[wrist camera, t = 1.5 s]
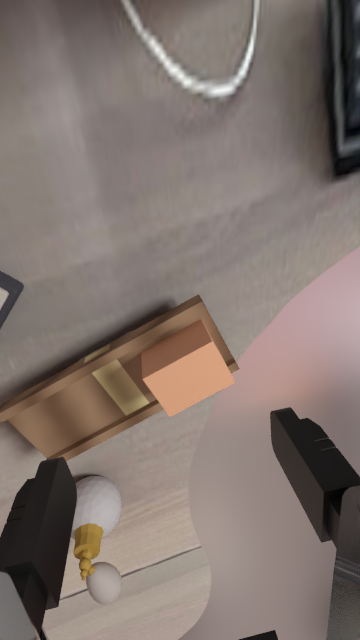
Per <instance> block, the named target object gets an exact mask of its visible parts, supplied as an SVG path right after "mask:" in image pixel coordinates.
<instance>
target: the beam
mask: <svg viewBox="0 0 360 640" xmlns="http://www.w3.org/2000/svg"><path fill="white" fill-rule="evenodd" d="M200 319H201V320H202V322H203V324H204V325H205V327H206V329H207V331H208V333H209V334H210V336H211V338H212V340H213V341H214V343H215V345H216V347H217V349H218V350H219V352H220V354H221V356H222V358H223V359H224V361H225V363H226V365H227V367H228V369H229V371H230V373H233V372H234V371H237V370H238V369H239V367H238V365H237V363H236V362H235V360H234V358H233V356H232V354H231V353H230V351H229V349H228V347H227V345H226V343H225V342H224V340H223V338H222V336H221V334H220V332H219V331H218V329H217V327H216V325H215V323H214V321H213V319H212V318H211V316H210V314H209V312H208V310H207V308H206V306H205V304H204V303H203V301H202V299H201V297H200V296H199V294H198V295H197V296H195V297H193V298H191V299H189V300H188V301H186V302H184V303H182V304H180V305H179V306H177V307H175V308H173V309H171V310H170V311H168V312H166V313H164V314H163V315H161V316H159V317H157V318H155V319H154V320H152V321H150V322H148V323H146V324H145V325H143V326H141V327H139V328H137V329H136V330H134V331H132V330H131V331H129V332H127V333H126V334H124V335H122V336H120V337H118V338H117V339H115V340H113V341H111V342H109V343H108V344H106V345H104V346H102V347H100V348H99V349H97V350H95V351H93V352H91V353H90V354H88V355H86V356H84V357H82V358H81V359H79V361H78V362H76V363H75V364H73V365H71V366H69V367H67V368H66V369H64V370H62V371H60V372H58V373H57V374H55V375H53V376H51V377H49V378H48V379H46V380H44V381H42V382H41V383H39V384H37V385H35V386H33V387H32V388H30V389H28V390H26V391H24V392H23V393H21V394H19V395H17V396H15V397H14V398H12V399H10V400H8V401H6V402H5V403H3V404H2V405H1V407H0V422H1V423H2V422H4V421H6V420H8V421H9V422H10V423H11V424H12V425H13V426H14V427H15V428H16V429H17V430H18V431H19V432H20V433H21V434H22V435H23V436H24V437H25V438H26V439H27V440H28V441H30V442H31V443H32V444H33V445H34V446H35V447H36V448H37V449H38V450H39V451H40V452H41V453H42V454H43V455H44V456H45V457H46V458H47V460H49V459H54V458H58V457H64V458H65V460H66V461H67V460H69V459H71V458H73V457H75V456H77V455H79V454H80V453H82V452H84V451H86V450H88V449H90V448H92V447H94V446H96V445H97V444H99V443H101V442H103V441H105V440H107V439H109V438H111V437H112V436H114V435H116V434H118V433H120V432H122V431H124V430H126V429H128V428H129V427H131V426H133V425H135V424H137V423H139V422H141V421H143V420H144V419H146V418H148V417H150V416H152V415H154V414H156V413H158V412H159V411H161V410H163V409H164V408H163V407H162V406H161V404H160V403H159V401H158V400H157V399H156V397H155V396H154V395H153V393H152V392H151V390H150V389H149V388H148V386H147V385H146V384H145V382H144V381H143V379H142V361H141V352H142V351H144V350H146V349H148V348H150V347H151V346H153V345H155V344H157V343H159V342H160V341H162V340H164V339H166V338H168V337H170V336H171V335H173V334H175V333H177V332H179V331H180V330H182V329H184V328H186V327H188V326H190V325H191V324H193V323H195V322H197V321H199V320H200Z"/></svg>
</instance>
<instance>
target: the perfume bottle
mask: <svg viewBox="0 0 360 640" xmlns="http://www.w3.org/2000/svg"><path fill="white" fill-rule="evenodd" d="M75 485H76V489H77V504H76V509H75V515H74V521H73V526H72V532H71V537H72V538H74V539H75V547H74V555H75V557H76V558H78V559H80V563H79V568H80V570H81V573H80V574H81V577H82V580H85V577H86V584H87V587H88V591H89V593H90V595H91V596H92V597H93V599H94V600H95V601H97V602H98V603H100V604H109V603H111V602H113V601H114V600H115V599H116V598H117V597H118V595H119V593H120V591H121V587H122V578H121V575H120V572H119V571H118V570H117V568H116V567H114V566H113V565H111V564H109V563H106V562H98V563H95V564H93V565H92V566H91V561H90V560H91V559H94V558H95V557H97V556H98V554H99V552H100V543H101V539H102V538H104V537H106V536H107V535H108V534H109V533H110V532H111V531H112V530H113V529H114V528H115V526H116V524H117V522H118V520H119V518H120V513H121V508H122V506H121V496H120V493H119V491H118V489H117V487H116V486H115V484H114V483H113V482H112V481H110V480H109V479H108V478H105V477H102V476H89V477H86V478H83V479H81V480H80V481H78V482H77V483H75ZM87 571H88V572H87Z"/></svg>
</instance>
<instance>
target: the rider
mask: <svg viewBox="0 0 360 640" xmlns="http://www.w3.org/2000/svg"><path fill="white" fill-rule="evenodd" d="M141 361H142V379H143V381H144V382H145V384H146V385H147V386H148V388H149V389H150V390H151V392H152V393H153V395H154V396H155V397H156V399H157V400H158V401H159V403H160V404H161V406H162V407H163V408H164V410H165V411H166V412H167V414H168V415H169V417H171V416H173V415H174V414H176V413H178V412H180V411H182V410H184V409H186V408H188V407H190V406H191V405H193V404H195V403H197V402H199V401H201V400H203V399H205V398H207V397H208V396H210V395H212V394H214V393H216V392H218V391H220V390H222V389H224V388H225V387H227V386H229V385H231V384H233V383H235V380H234V379H233V377H232V375H231V373H230V371H229V369H228V367H227V365H226V363H225V361H224V359H223V358H222V356H221V354H220V352H219V350H218V349H217V347H216V345H215V343H214V341H213V340H212V338H211V336H210V334H209V333H208V331H207V329H206V327H205V325H204V324H203V322H202V320H201V319H200V320H199V321H197V322H195V323H193V324H191V325H190V326H188V327H186V328H184V329H182V330H180V331H179V332H177V333H175V334H173V335H171V336H170V337H168V338H166V339H164V340H162V341H160V342H159V343H157V344H155V345H153V346H151V347H150V348H148V349H146V350H144V351H142V352H141Z"/></svg>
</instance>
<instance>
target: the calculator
mask: <svg viewBox="0 0 360 640" xmlns="http://www.w3.org/2000/svg"><path fill="white" fill-rule="evenodd" d="M23 287H24V286H23V284H22V283H21V282H19V281H18V280H16V279H14V278H12V277H10V276H9V275H7V274H5V273H3V272H1V271H0V328H1V327H2V325H3V323H4V321H5V320H6V318H7V316H8V314H9V313H10V311H11V309H12V307H13V306H14V304H15V302H16V300H17V299H18V297H19V295H20V293H21V292H22V290H23Z"/></svg>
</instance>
